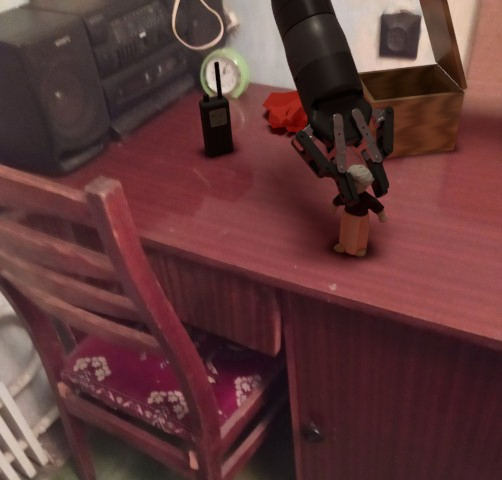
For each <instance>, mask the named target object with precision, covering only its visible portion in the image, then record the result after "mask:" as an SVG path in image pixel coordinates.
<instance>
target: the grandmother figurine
mask: <svg viewBox="0 0 502 480" xmlns="http://www.w3.org/2000/svg"><path fill="white" fill-rule="evenodd" d="M349 172H350V173H351V176H352V179H353V182H354V185H355V188H356V191H357V193H358V196H359V203H357V204H356V205H354V206H351V207H348V206H347V203H345V204H344V203H343V202H342V200H341V198H340V195H339V193H338V194H337V195H336V196H335V197H334V198H333V199H332V202H331V204H330V205H329V207H328V212H329V213H331V214H335V213H336V212H337V211H338V209H339V207H341V206H342V207H343V206H344V207H343V210H342V213H341V221H340V229H339V238H338V243H337V244H335V246H334V247H333V249H334V251H336V252H338V253H347V254H349V255H352V256H355V257H363V256H365V255H366V253H367V247H368V239H369V235H370V211H371V212H372V213H374V214H375V215H376V216H377V217H378V221H379V223H381V224H385V223H386V222H387V220H388V218H387V215H386V211H385V205H384V204H382V203H381V202H380V201H379V200H378V198H376V197H375V195H373V194H370V193H369V192H368V191H367V189H368V187H370V186H371V184H372V182H373V180H374V178H373V177H372V174H371V172H370V171H369V169H367V168H366V166H365V165H364V164H352V165H350V166H349V167H348V168H347V173H349ZM369 210H370V211H369Z"/></svg>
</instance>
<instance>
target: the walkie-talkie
mask: <svg viewBox="0 0 502 480" xmlns="http://www.w3.org/2000/svg"><path fill="white" fill-rule="evenodd" d="M213 68H214V76H215V86H216V94H217V95H214V96H211V97H210V95H209V93H203V95H202V98H201V99H200V100H199V101H198V106H199V107H198V108H199V115H200V116H199V117H200V124H201V129H202V137H203V145H204V152H205V154H206V155H207V157H209V158H216V157H220V156H224V155H228V154H231V153H233V152H235V150H234V141H233V140H234V139H233V131H232V120H231V109H230V101H229V99H228V98H227V97H226V96H225V95H223V89H222V78H221V71H220V70H221V69H220V62H219V61H214V62H213Z"/></svg>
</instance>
